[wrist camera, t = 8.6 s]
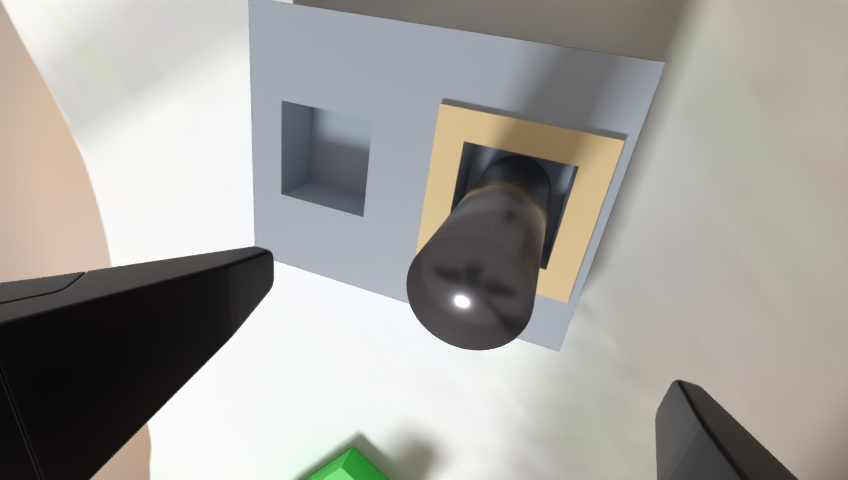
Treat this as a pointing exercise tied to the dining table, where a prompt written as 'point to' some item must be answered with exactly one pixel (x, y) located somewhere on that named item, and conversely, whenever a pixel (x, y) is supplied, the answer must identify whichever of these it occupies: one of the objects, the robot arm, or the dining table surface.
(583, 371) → the dining table surface
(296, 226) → the socket board
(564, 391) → the dining table surface
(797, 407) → the dining table surface
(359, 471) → the mechanical part
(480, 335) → the pin
